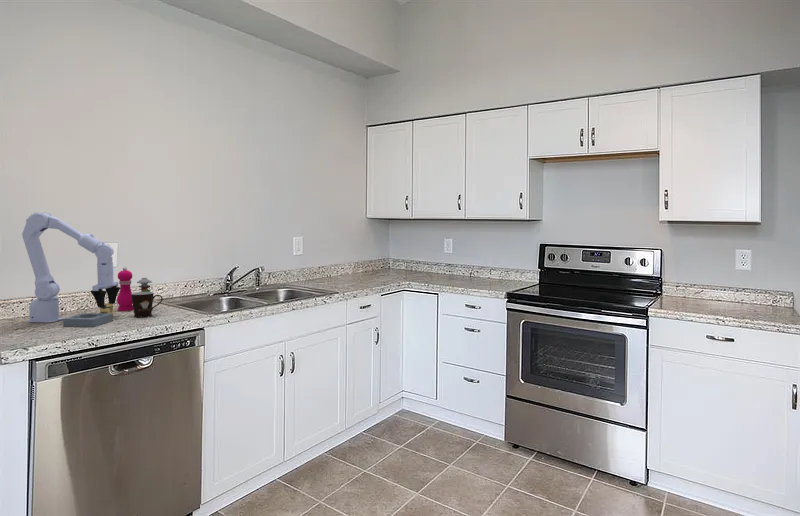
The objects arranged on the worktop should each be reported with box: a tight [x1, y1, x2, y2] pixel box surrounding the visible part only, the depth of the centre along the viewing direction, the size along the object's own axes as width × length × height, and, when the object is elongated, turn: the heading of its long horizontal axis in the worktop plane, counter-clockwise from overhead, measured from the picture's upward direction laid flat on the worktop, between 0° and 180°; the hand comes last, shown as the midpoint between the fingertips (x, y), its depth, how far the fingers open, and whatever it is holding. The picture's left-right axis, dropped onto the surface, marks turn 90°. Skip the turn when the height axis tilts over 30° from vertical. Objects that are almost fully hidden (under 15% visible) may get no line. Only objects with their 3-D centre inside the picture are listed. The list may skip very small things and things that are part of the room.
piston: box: [98, 302, 114, 316], centre depth 206 cm, size 5×5×6 cm
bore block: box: [62, 312, 114, 328], centre depth 194 cm, size 12×12×3 cm
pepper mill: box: [116, 266, 134, 312], centre depth 224 cm, size 7×7×20 cm
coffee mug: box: [131, 291, 164, 318], centre depth 211 cm, size 12×9×10 cm
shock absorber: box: [136, 277, 153, 292], centre depth 224 cm, size 6×6×15 cm
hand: (106, 305), depth 205 cm, fingers open, 7 cm apart
